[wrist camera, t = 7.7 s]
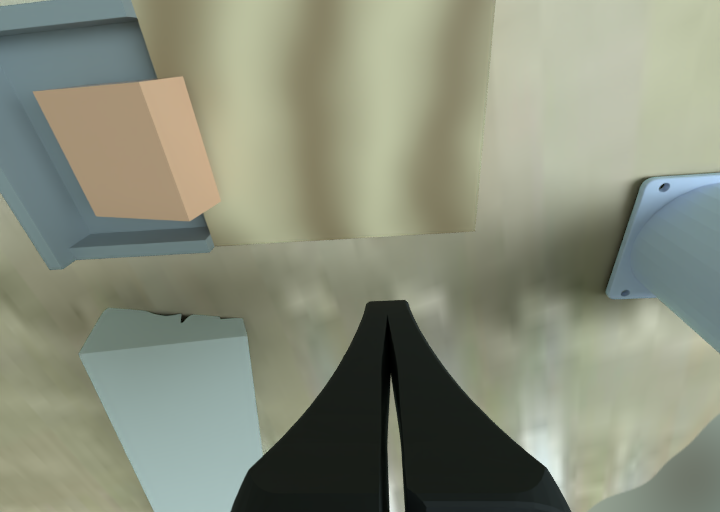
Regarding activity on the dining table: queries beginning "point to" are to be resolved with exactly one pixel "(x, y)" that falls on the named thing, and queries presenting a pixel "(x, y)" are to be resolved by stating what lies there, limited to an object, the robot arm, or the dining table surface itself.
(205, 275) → the dining table surface
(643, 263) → the robot arm
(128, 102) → the tile
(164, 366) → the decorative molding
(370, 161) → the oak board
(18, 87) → the tray
